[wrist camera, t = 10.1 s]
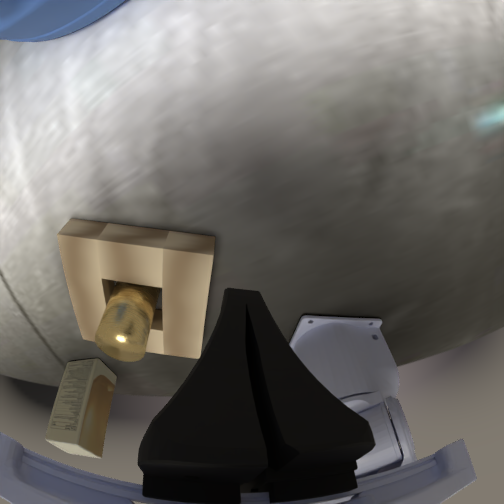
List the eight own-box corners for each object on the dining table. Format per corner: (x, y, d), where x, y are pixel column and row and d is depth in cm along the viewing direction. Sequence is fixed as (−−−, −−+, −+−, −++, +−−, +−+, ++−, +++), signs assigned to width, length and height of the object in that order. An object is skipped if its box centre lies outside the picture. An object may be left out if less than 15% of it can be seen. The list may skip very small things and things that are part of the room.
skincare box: (86, 378, 32) (67, 453, 22) (67, 360, 30) (42, 439, 20) (120, 376, 32) (103, 460, 22) (100, 357, 29) (76, 446, 19)
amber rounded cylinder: (163, 270, 23) (146, 335, 17) (158, 303, 25) (144, 366, 19) (120, 260, 22) (92, 321, 16) (119, 293, 24) (97, 354, 18)
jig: (215, 236, 22) (213, 255, 19) (201, 339, 28) (200, 358, 26) (71, 218, 20) (57, 234, 18) (90, 321, 26) (83, 339, 24)
